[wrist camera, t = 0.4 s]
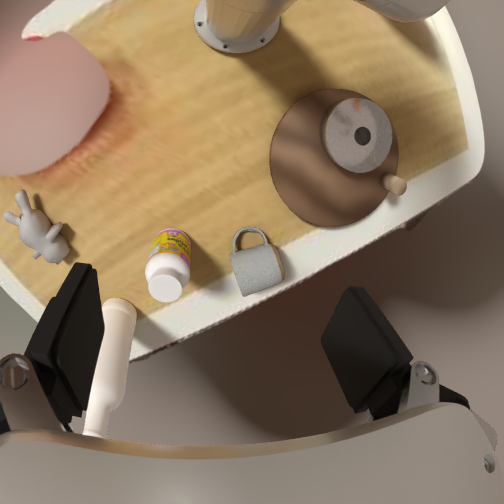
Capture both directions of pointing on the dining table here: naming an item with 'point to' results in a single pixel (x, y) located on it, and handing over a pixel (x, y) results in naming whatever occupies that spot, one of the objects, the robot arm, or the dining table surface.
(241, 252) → the ceramic mug
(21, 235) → the bunny figurine
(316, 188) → the lazy susan
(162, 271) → the supplement bottle
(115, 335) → the bottle
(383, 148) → the steel cover
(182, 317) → the dining table surface
